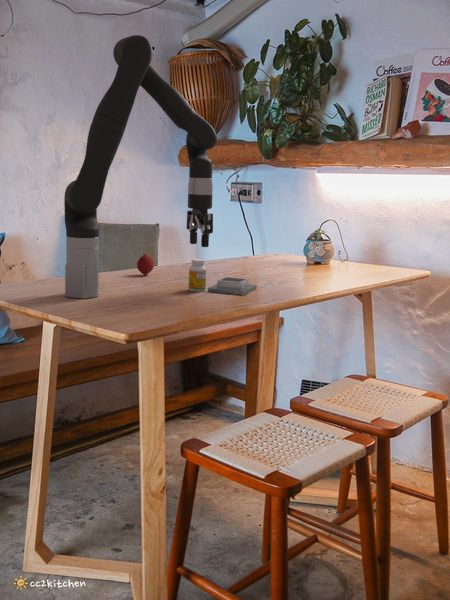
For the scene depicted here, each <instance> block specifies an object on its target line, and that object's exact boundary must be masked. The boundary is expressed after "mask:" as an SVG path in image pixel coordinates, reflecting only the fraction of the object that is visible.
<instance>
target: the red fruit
mask: <svg viewBox="0 0 450 600" xmlns="http://www.w3.org/2000/svg"><path fill="white" fill-rule="evenodd" d="M154 266H155V263H154V261H153V258H151V256H149V253H148V252H145V253H144V254H143V255H142V256H141V257H139V259H138V260H137V263H136V268H137V270H138V271H139V272H140V273H141V274H142V275H143V276H147V275H149V274H150V273H151V272H152V271H153V270H154Z"/></svg>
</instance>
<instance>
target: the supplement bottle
mask: <svg viewBox="0 0 450 600" xmlns="http://www.w3.org/2000/svg"><path fill="white" fill-rule="evenodd" d="M206 285H207V268H206V266H205V259H202V258H192V259H191V265H190V266H189V269H188V291H190V292H196V293H197V292H205V291H206Z"/></svg>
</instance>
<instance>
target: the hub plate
mask: <svg viewBox="0 0 450 600" xmlns="http://www.w3.org/2000/svg"><path fill="white" fill-rule="evenodd" d="M257 286H258V285H257V284H250V280H249V278H242V277H241V278H240V277H229V276H223V277H221V278H219V279H217V280H216V283H215V284H214V285H211V286H210V287H208V288H207V293H214V292H215V293H217V294H224V293H232V294H231V295H235V294H244V295H243V296H246V295H248V294H249V292H250V293H252V292H253V291H255V290H257V289H256V288H257ZM254 289H255V290H254ZM252 290H253V291H252ZM251 291H252V292H251ZM247 293H248V294H247ZM245 294H246V295H245Z"/></svg>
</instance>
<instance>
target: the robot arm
mask: <svg viewBox="0 0 450 600" xmlns="http://www.w3.org/2000/svg"><path fill="white" fill-rule="evenodd" d="M153 53H154V51H153V46H152V44H151V42H150V40H149V39H148V38H146V37H145V36H143V35H141V34H138V35H137V34H133V35H130V36H127V37H124V38H121V39H119V40H118V41H117V42H116V44H115V45H114V47H113V52H112V54H113V58H114V61H115V63H116V65H117V66H118V67H117V69H116V72H115V76H114V78H113V80H112V82H111V85H110V86H109V87H108V89H107V91H106V92H105V94H104V95H103V96H102V98H101V101H100V102H99V103H98V106H97V108H96V109H95V113H94V115H93V118H92V121H91V123H90V126H89V130H88V133H87V141H86V146H85V147H86V148H85V155H84V159H83V162H82V165H81V167H80V170H79V173H78V175H77V177H76V179H75V180H73V181H71V182H70V183H69V184H67V186H66V188H65V191H64V198H63V199H64V204H63V205H64V225H65V236H66V239H65V240H66V243H65V244H66V245H65V246H66V247H65V248H66V249H65V252H66V253H65V261H66V262H65V264H64V276H65V277H64V285H65V286H64V297H68V298H77V299H88V298H96V297H99V287H100V285H99V284H100V283H99V281H100V279H99V278H100V277H99V276H100V275H99V274H100V270H99V269H100V268H99V267H100V266H99V265H100V263H99V261H100V258H99V257H100V255H99V253H100V227H99V224H98V219H97V218H98V211H97V210H98V207H99V206H100V205H101V202H102V198H103V194H104V190H105V186H106V183H107V178H108V174H109V172H110V171H109V170H110V168H111V166H112V163H113V161H114V159H115V157H116V155H117V151H118V149H119V147H120V144H121V141H122V139H123V136H124V133H125V131H126V127H127V124H128V122H129V118H130V115H131V113H132V109H133V106H134V103H135V100H136V97H137V93H138V92H139V88H140V87H141V88H142V89H143V90H144V91H145V92H146V93H147V94H148V95H149V96H150V97H151V98H152V99H153V100H154V101H155V102H156V104H157V105H158V106H159V107H160V109H162V111H163V112H164V113H165V114H166V116H168V118H169V119H170V120H171V122H172V123H173V124H174V125H175V126H176V127H177V128H179V129H181V130H184V131H185V132H186V133H187V135H186V139H185V145H186V146H185V147H186V152H187V153H186V154H187V157H188V161H189V172H188V174H189V175H188V177H189V178H188V184H187V185H188V186H187V187H188V189H187V208H188V209H190V210H186V230H188V232H189V244H191V245H197V244H198V230H200V233H201V240H200V242H201V244H200V245H201V248H208V247H209V244H210V243H209V241H210V235H211V234H213V233H214V214H213V213H208V212H209V211H208V210H211V209H212V208H213V187H214V185H213V162H212V160H211V159H209V157H208V153H207V152H208V151H209V150H211V149H213V148H215V147H216V145H217V142H218V135H217V132H216V130H215V128H213V126H212V125H211V124H210V123H209V122H208V121H207V120H205V118H203V116H201V114H198V113H197V112H196V111H195V109H194V108H193V107H192V105H190V102H188V101H187V100H186V98H185V97H184V96H183V95H182V94H181V93H180V91H178V90H177V89H176V88H175V87H173V86H172V84H171V83H169V82H168V81H167V80H165V79H164V78H163V77H161V75H160V74H159V73H158V72H157V71H156V70H155V68H154V67H153V66H152V65H151V63H152V60H153V56H154V55H153Z"/></svg>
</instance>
